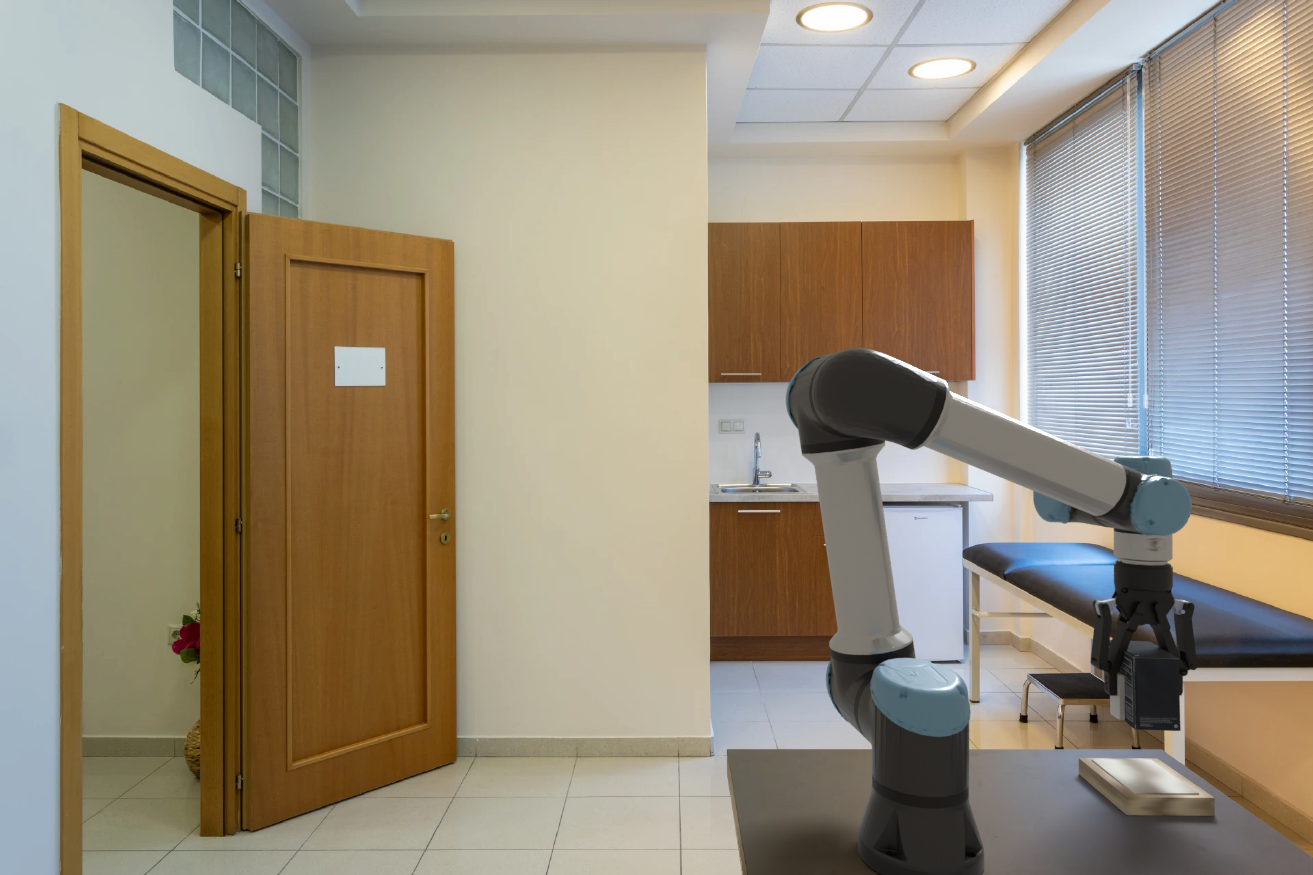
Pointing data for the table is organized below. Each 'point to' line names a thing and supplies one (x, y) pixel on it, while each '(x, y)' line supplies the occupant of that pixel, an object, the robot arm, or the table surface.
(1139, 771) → the beech picture frame
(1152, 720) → the small box
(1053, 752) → the table surface
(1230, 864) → the table surface
